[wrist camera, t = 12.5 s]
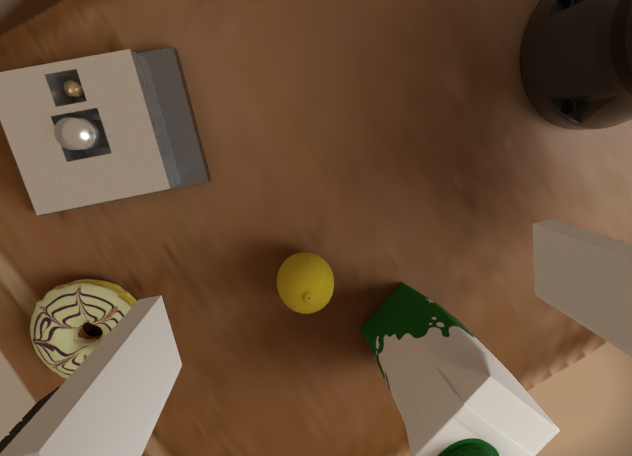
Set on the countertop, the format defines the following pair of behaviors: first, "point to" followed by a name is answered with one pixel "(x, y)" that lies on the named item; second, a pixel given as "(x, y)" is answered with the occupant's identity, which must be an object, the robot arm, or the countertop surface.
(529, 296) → the countertop surface
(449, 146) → the countertop surface
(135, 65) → the white boxy piece
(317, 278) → the lemon
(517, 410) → the milk carton
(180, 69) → the fixture
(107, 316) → the decorated donut
